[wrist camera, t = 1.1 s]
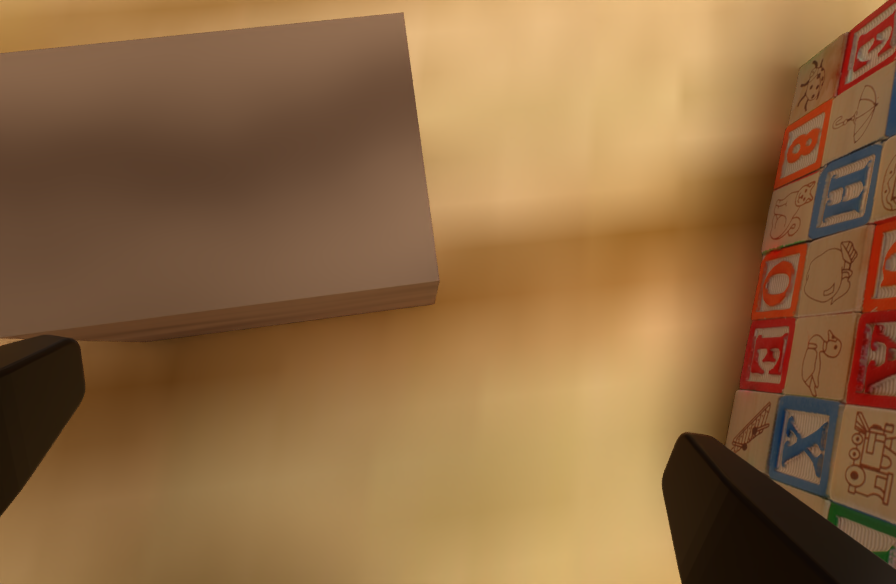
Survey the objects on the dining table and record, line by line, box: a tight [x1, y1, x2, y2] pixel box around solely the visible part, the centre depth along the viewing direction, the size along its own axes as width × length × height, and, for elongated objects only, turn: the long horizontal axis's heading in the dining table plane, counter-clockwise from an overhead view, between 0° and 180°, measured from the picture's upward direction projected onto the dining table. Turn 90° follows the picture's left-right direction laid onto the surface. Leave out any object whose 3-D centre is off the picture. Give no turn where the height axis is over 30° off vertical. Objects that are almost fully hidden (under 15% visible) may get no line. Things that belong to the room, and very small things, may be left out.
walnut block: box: [0, 13, 439, 342], centre depth 20 cm, size 8×12×8 cm, turn 98°
